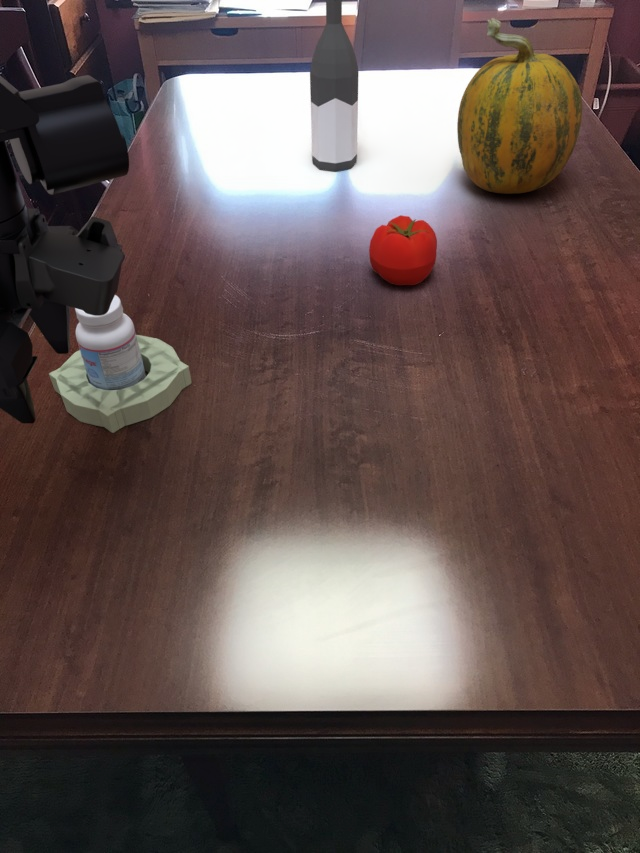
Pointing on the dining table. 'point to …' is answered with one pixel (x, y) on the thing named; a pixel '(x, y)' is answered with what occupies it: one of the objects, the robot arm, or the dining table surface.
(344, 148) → the wine bottle
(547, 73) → the pumpkin
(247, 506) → the dining table surface
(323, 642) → the dining table surface
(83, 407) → the socket pad
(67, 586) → the dining table surface
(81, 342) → the pill bottle
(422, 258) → the tomato
